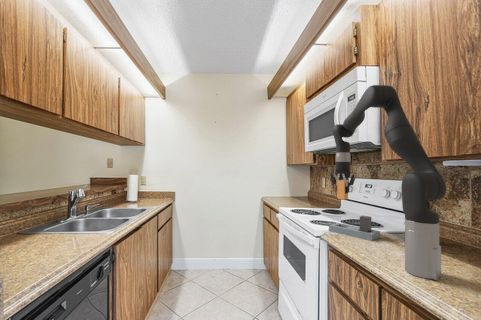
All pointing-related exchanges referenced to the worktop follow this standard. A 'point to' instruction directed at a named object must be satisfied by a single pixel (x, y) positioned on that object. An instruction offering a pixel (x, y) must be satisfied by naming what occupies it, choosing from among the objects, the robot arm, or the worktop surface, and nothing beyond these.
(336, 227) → the slate power strip
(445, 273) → the worktop surface
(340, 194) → the orange plug
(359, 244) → the worktop surface
